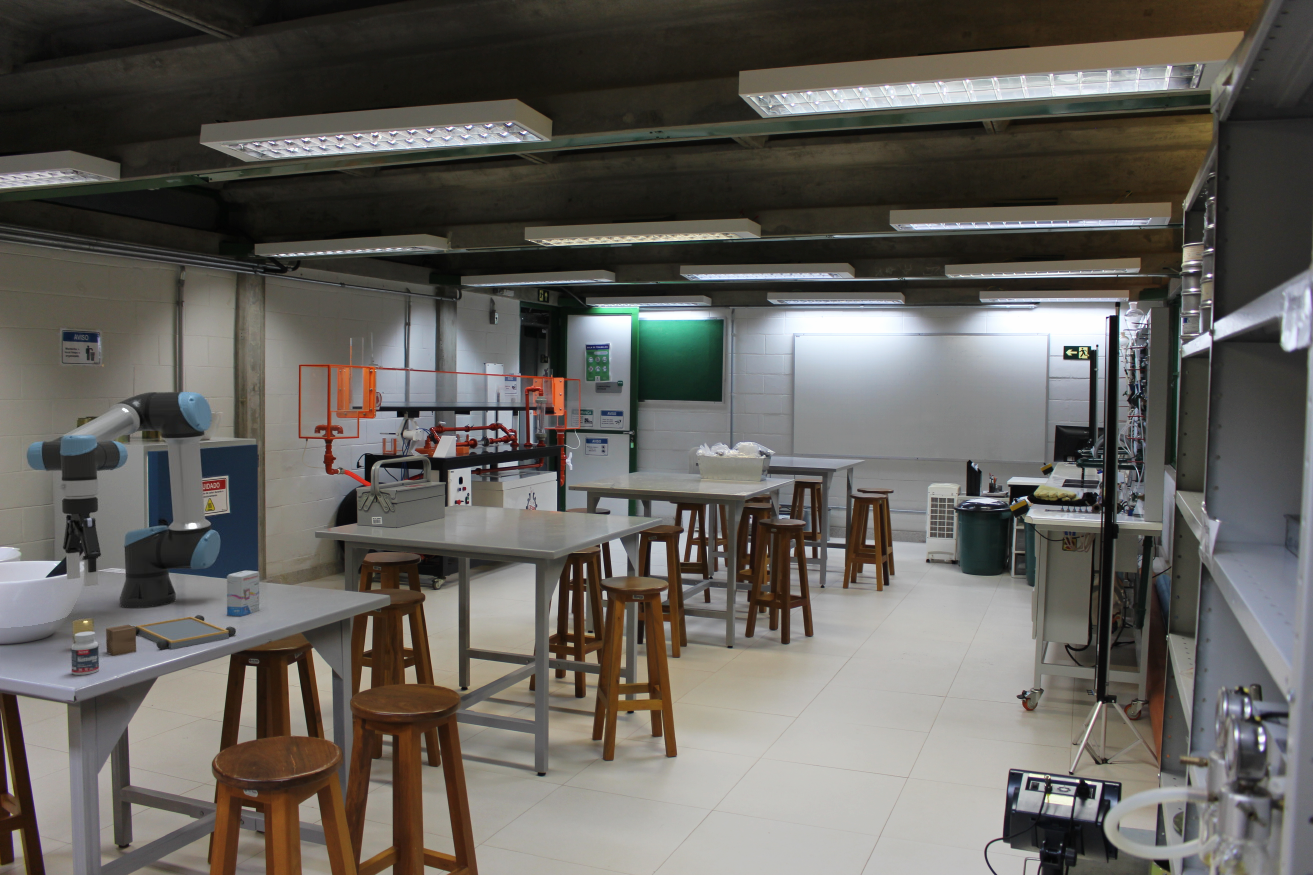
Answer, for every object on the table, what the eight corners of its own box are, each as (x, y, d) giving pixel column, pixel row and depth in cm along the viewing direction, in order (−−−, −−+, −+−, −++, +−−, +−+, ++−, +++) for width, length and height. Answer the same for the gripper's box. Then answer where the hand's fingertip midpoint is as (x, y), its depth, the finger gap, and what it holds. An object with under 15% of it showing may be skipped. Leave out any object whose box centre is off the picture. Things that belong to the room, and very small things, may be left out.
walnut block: (106, 652, 224) (106, 628, 224) (129, 648, 228) (128, 624, 228) (113, 656, 221) (113, 631, 220) (136, 651, 224) (135, 627, 224)
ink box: (241, 616, 261) (240, 575, 260) (226, 615, 262) (225, 575, 261) (260, 610, 269) (259, 570, 269) (245, 609, 270) (244, 569, 270)
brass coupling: (71, 648, 228) (70, 620, 227) (90, 644, 231) (90, 617, 231) (76, 651, 225) (75, 623, 224) (96, 647, 228) (95, 620, 228)
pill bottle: (76, 676, 204) (74, 637, 203) (68, 672, 207) (67, 633, 207) (102, 671, 208) (101, 633, 207) (94, 667, 211) (93, 629, 211)
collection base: (125, 635, 240) (125, 626, 240) (200, 621, 255) (200, 613, 254) (160, 651, 224) (160, 641, 224) (238, 636, 239) (238, 627, 238)
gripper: (47, 495, 232) (49, 577, 233) (79, 501, 215) (81, 590, 216) (80, 492, 238) (83, 573, 238) (114, 499, 221) (116, 585, 222)
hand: (82, 581), depth 227 cm, fingers open, 13 cm apart
